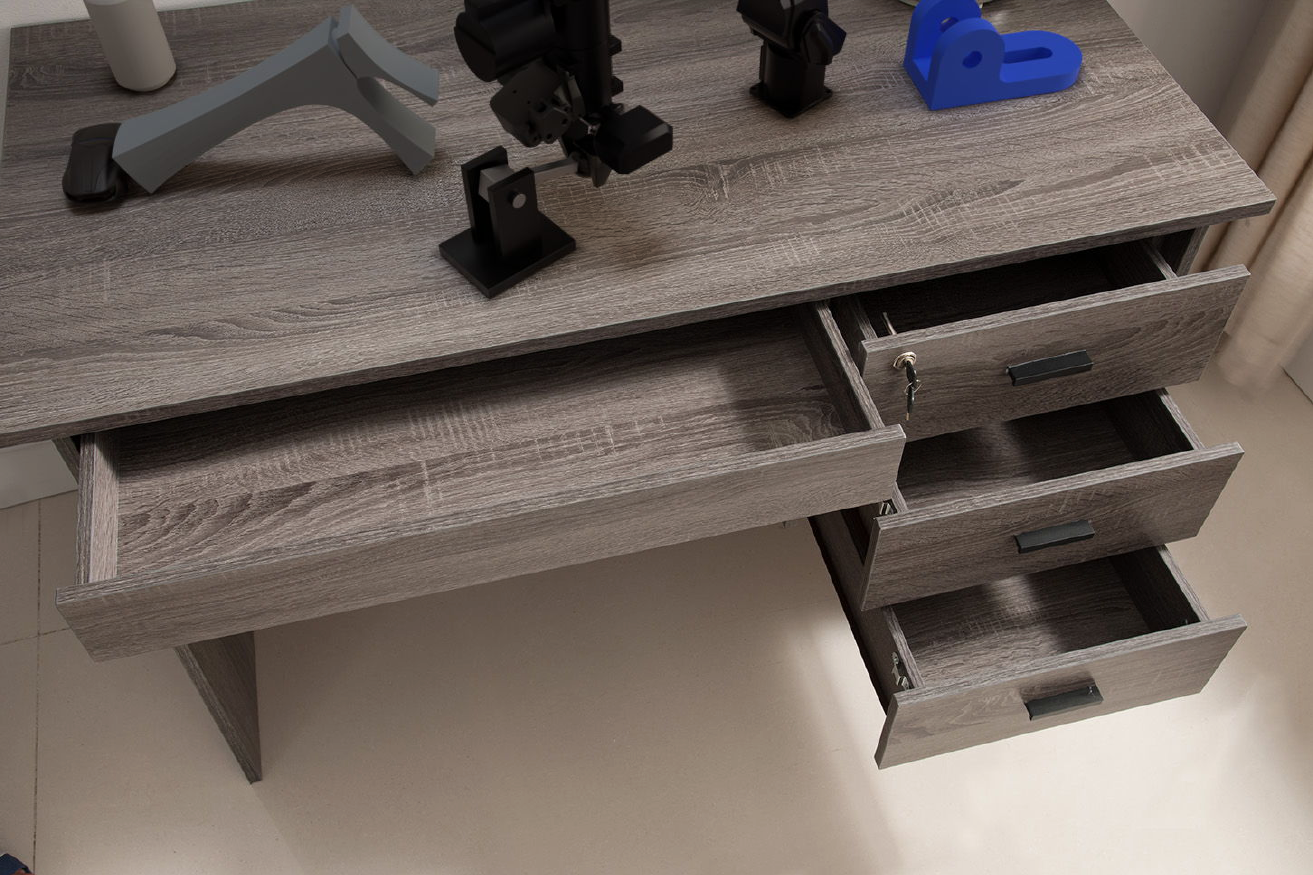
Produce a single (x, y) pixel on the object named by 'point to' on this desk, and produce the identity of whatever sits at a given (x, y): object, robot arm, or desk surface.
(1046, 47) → the bracket
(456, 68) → the desk surface
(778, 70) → the robot arm
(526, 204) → the lever switch
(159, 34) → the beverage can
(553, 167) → the lever handle
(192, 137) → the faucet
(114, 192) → the black computer mouse
